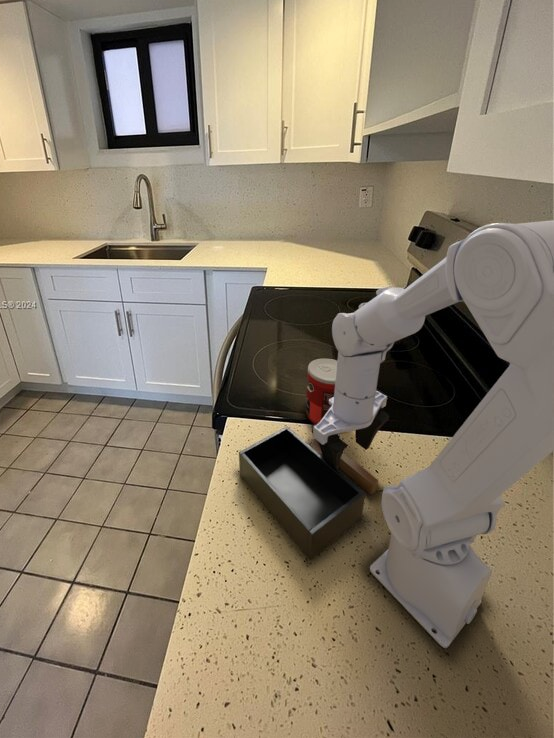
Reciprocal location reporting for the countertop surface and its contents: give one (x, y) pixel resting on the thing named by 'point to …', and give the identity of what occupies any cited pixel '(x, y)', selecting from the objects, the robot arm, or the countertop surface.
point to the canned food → (320, 388)
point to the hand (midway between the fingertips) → (346, 455)
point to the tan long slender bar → (353, 471)
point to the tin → (301, 490)
